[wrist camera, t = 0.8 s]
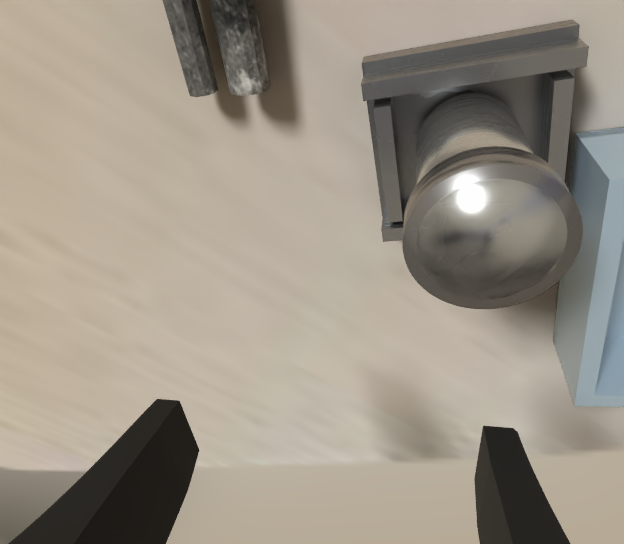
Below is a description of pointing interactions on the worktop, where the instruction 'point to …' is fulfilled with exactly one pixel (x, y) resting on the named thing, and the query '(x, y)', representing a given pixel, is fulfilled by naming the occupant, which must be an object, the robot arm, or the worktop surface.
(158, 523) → the robot arm
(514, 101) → the plate
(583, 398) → the bin
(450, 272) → the metal capped cylinder
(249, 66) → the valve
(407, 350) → the worktop surface
